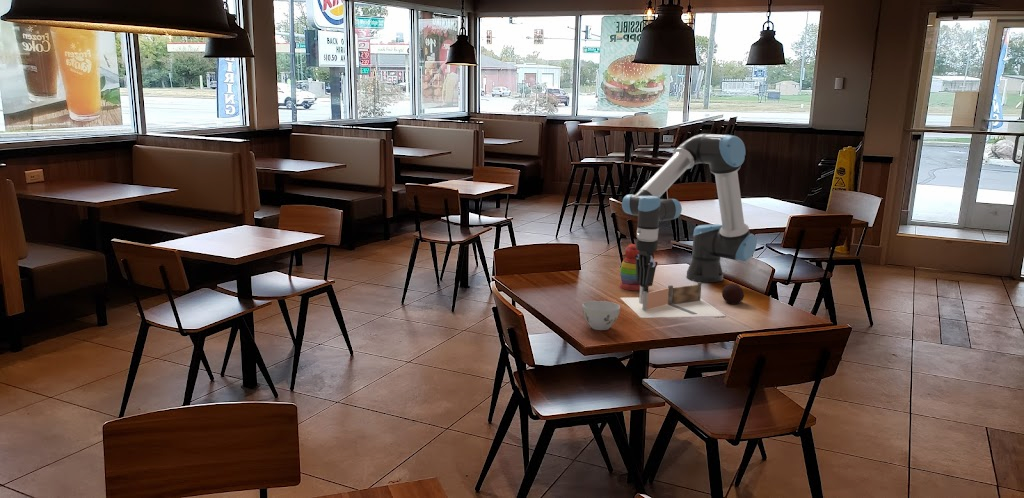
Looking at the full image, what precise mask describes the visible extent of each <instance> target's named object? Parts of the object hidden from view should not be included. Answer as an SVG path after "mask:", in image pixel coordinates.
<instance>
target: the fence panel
mask: <svg viewBox="0 0 1024 498" xmlns="http://www.w3.org/2000/svg"><path fill="white" fill-rule="evenodd" d="M668 292H669V288H668V287H666V288H661V289H658V290H657V289H656V290H653V291H648V292H647V291H644V292H643V308H642V310H647V309H651V308H655V307H659V306H663V305H667V304H668Z"/></svg>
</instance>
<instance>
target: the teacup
mask: <svg viewBox="0 0 1024 498" xmlns="http://www.w3.org/2000/svg"><path fill="white" fill-rule="evenodd" d="M581 307H582V313H583V317H584V320H585V321H586V322H587V324H588V325H589V326H590V328H591V329H592V330H596V331H606V330H609V329H610V328H611V327H612V326H613V325H614V323H616V321H617V319H618V317H619V315H620V311H621V305H620V304H618V303H615V302H612V301H608V300H607V301H605V300H600V301H599V300H588V301H585V302H583V303H582V305H581Z"/></svg>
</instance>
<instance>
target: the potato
mask: <svg viewBox="0 0 1024 498" xmlns="http://www.w3.org/2000/svg"><path fill="white" fill-rule="evenodd" d="M721 296H722V299H723V300H724V301H725V302H727V303H728V304H731V305H738V304H740V303H741V302H743V300H744V298H745V293H744V290H743V288H742V287H741V286H740V285H739V284H737V283H728V284H727V285H725V286H724V287H722V291H721Z"/></svg>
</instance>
